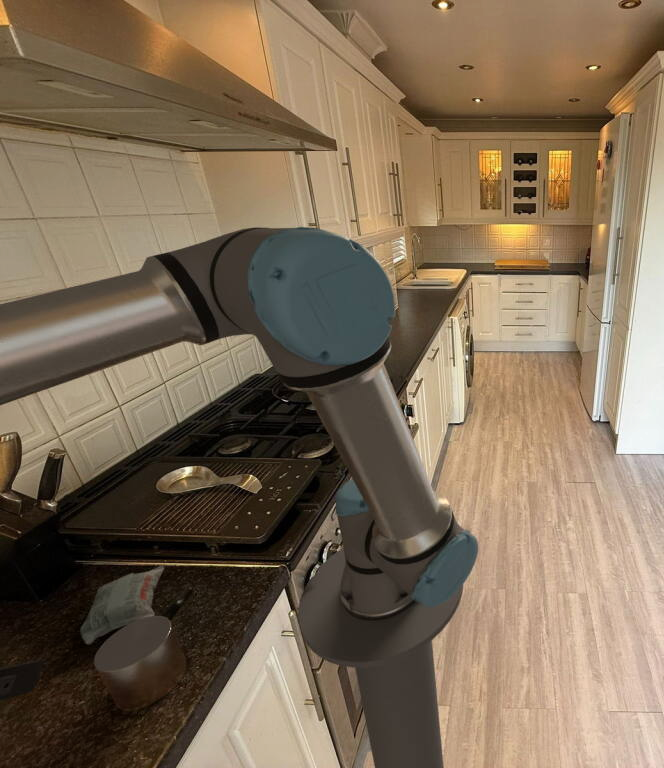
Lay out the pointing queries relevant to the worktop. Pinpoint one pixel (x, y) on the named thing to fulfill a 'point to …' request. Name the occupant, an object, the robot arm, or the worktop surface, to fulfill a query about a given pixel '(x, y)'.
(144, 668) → the saucepan
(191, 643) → the worktop surface
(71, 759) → the worktop surface
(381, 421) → the robot arm
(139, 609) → the packaged food
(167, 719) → the worktop surface
